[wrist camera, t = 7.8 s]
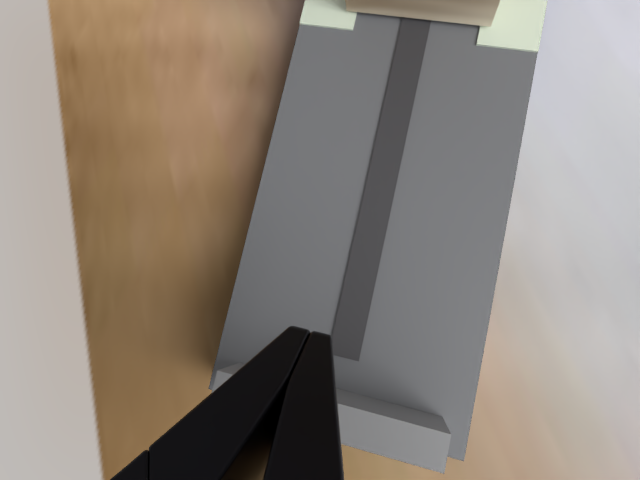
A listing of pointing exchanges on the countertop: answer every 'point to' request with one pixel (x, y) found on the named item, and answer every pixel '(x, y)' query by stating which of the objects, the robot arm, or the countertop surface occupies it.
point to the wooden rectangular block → (431, 9)
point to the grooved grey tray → (389, 215)
